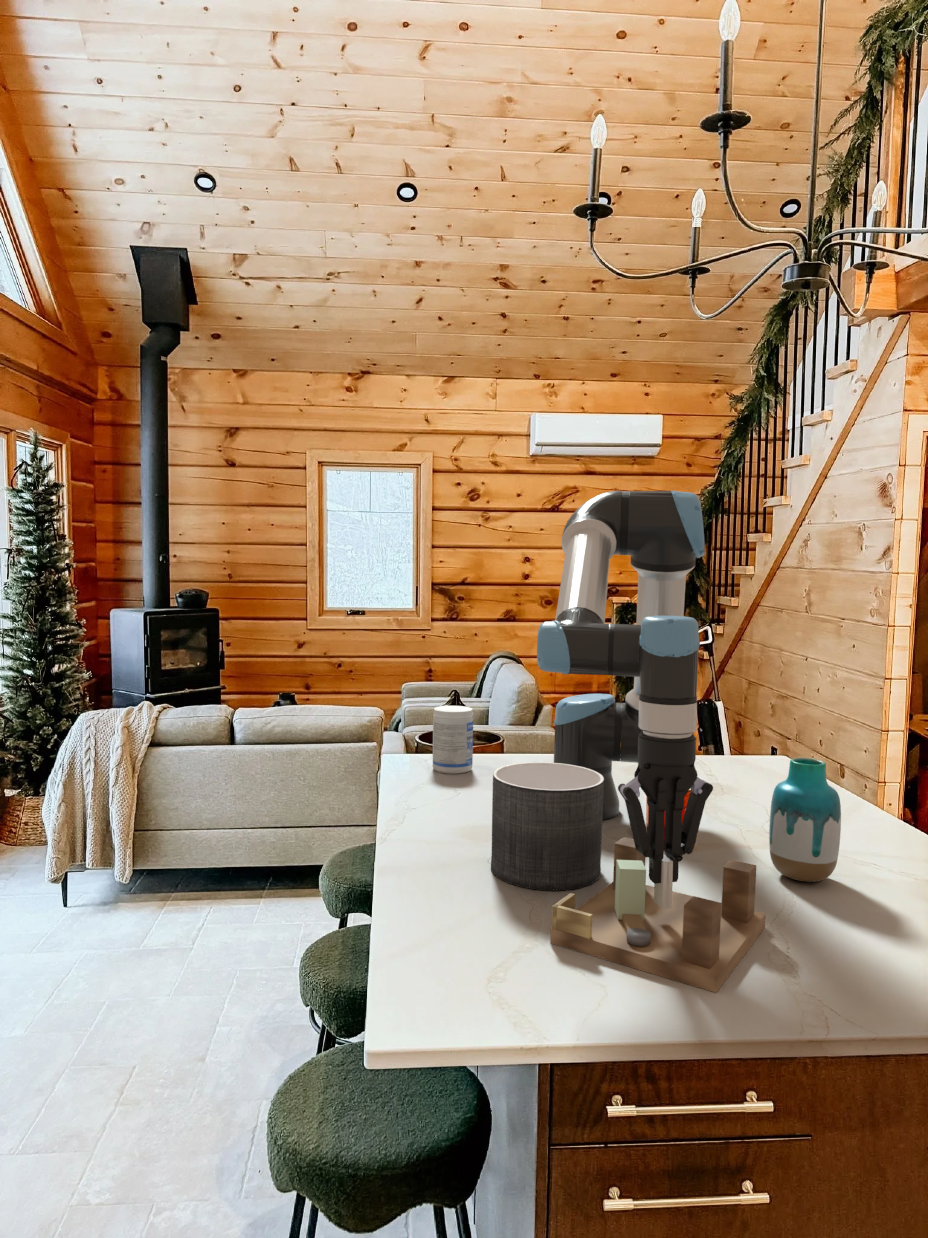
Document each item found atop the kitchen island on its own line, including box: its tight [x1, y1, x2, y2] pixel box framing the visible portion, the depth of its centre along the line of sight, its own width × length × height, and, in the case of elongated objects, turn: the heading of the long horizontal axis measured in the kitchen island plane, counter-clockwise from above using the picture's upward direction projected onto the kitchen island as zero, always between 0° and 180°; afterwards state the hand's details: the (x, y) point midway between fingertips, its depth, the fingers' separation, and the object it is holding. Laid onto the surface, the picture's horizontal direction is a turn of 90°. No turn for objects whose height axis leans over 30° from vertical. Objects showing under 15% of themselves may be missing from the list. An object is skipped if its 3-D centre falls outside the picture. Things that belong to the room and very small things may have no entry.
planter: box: [490, 761, 604, 891], centre depth 138 cm, size 18×18×16 cm
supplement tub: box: [432, 705, 474, 775], centre depth 203 cm, size 10×10×15 cm
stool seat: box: [549, 836, 767, 994], centre depth 115 cm, size 22×22×9 cm
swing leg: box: [615, 860, 651, 946], centre depth 113 cm, size 4×11×7 cm, turn 177°
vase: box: [768, 757, 842, 883], centre depth 137 cm, size 11×11×19 cm
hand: (662, 905), depth 115 cm, fingers closed
